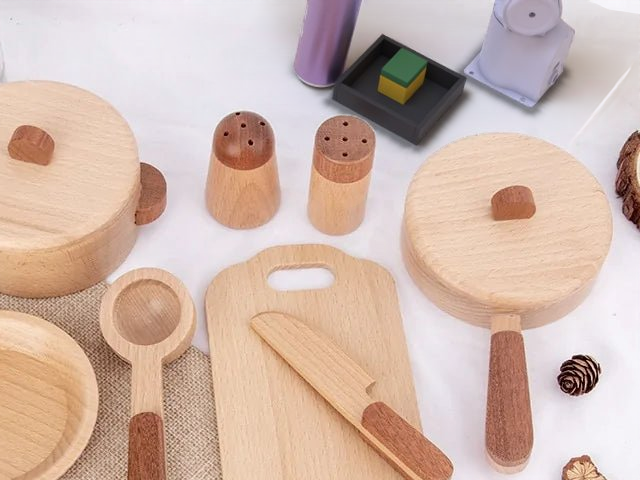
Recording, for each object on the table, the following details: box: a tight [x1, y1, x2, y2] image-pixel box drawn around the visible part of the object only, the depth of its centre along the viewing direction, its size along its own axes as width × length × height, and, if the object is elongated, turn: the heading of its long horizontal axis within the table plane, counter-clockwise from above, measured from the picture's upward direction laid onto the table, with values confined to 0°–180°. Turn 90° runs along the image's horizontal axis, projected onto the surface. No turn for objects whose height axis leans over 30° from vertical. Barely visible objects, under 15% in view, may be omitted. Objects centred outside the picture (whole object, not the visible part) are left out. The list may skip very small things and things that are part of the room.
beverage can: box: [293, 0, 363, 88], centre depth 123 cm, size 6×6×15 cm
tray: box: [331, 33, 468, 146], centre depth 126 cm, size 12×10×3 cm
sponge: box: [378, 48, 428, 104], centre depth 126 cm, size 4×4×4 cm
